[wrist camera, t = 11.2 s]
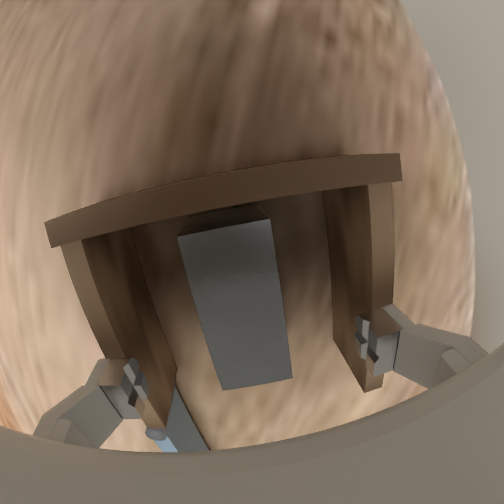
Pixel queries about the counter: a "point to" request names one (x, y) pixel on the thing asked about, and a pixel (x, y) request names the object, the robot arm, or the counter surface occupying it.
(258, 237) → the dark gray rectangular block
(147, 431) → the rounded end plank
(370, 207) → the wooden u-shaped block
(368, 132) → the counter surface
